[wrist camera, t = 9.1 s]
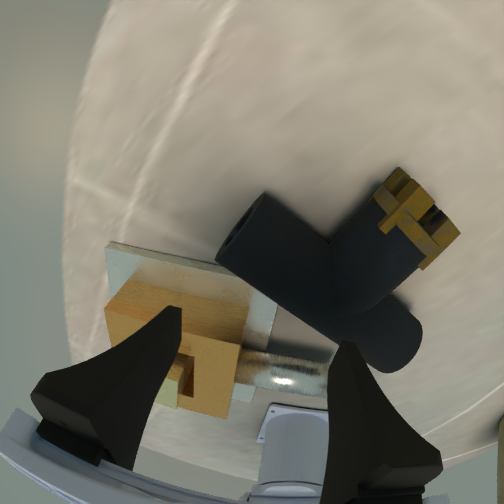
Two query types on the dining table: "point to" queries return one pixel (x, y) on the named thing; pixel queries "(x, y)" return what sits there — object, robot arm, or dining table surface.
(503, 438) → the plant pot
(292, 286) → the pipe connector
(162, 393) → the pale wooden brick
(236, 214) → the dining table surface
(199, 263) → the wooden slotted box
